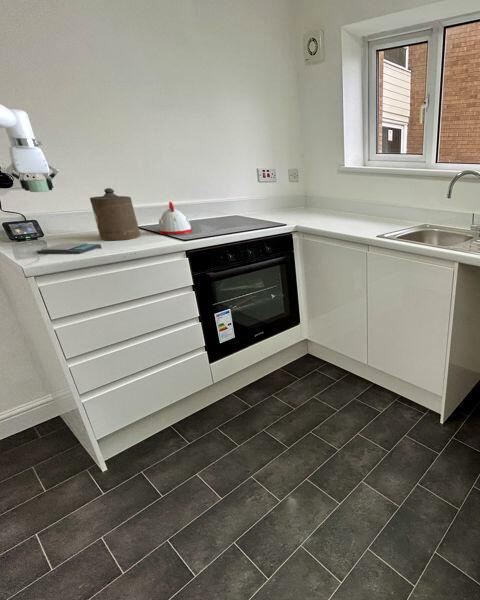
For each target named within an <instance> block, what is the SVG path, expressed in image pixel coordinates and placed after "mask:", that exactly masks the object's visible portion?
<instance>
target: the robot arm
mask: <svg viewBox="0 0 480 600" xmlns="http://www.w3.org/2000/svg"><path fill="white" fill-rule="evenodd" d="M32 127H33V126H32V124H31V121H30V118H29V115H28V113H27V112H26V111H25V110H22V109H16V108H8V107H6V106H5V105H3V104H1V103H0V129H5V131H6V135H7V138H8V140H9V144H10V146H8V152H9V157H10V161H11V163H10V164H9V165H8V166H7V167H6V168H5V169H4V172H5V173H7V174H8V175H10V176H11V177H13V178H15V179H17V180H18V181H19V183H20V186H21V189H23V190H24V191H26V192H29V191H28V187H27V184H26V181H24V180H25V175H26V174H29V175H31V174H33V175H38V174H41V175H43V177H44V178H45V180H47V183H48V186H49V191H53V189H54V184H53V181H52V180H53V179H54V178H55V177H56V176H57V174H58V173H59V172H60V171H59V169H57V168H55V167H54V166H52V165H50V164H48V161H47V159H46V157H45V155H44V153H43V151H42V149H41V148H40V147H39V146H42V145H43V144H42V142H41V141H38V140H37V139H36V137H35V135H34V134H35V133H34V131H33V128H32ZM50 170H51V171H52V172H51V171H50ZM13 171H14V172H16V173H17V174H16V173H14V172H13ZM50 172H51V173H50ZM49 173H50V174H49Z"/></svg>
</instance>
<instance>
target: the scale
mask: <svg viewBox="0 0 480 600" xmlns="http://www.w3.org/2000/svg"><path fill="white" fill-rule="evenodd" d="M96 249H100V250H101V249H102V244H101V243H87V242H60V243H58V244H54V245H50V246H47V247H44V248H41V249H40V250H36V253H37V255H81V254H84V253H87V252H90V251H93V250H96Z"/></svg>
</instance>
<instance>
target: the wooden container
mask: <svg viewBox="0 0 480 600" xmlns="http://www.w3.org/2000/svg"><path fill="white" fill-rule="evenodd" d="M103 192H104V195H101V196H92V197H91V196H90V197H89V200H90V205H91V208H92V212H93V215H94V219H95V224H96V226H97V231H98V234H99V237H100V240H103V241H126V240H134V239H137V238H140V237H141V232H140V229H139V223H138V220H137V216H136V212H135V209H134V205H133V201H132V198H131V196H124V195H117V194H115V190H114V189H113V188H111V187H107V188H105V189H104V190H103Z"/></svg>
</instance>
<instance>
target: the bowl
mask: <svg viewBox="0 0 480 600" xmlns="http://www.w3.org/2000/svg"><path fill="white" fill-rule="evenodd" d="M24 181H26V184H27V187H28V191H27V192H29V193H48V192H50V190H49V186H48V183H47V180H46V179H24Z"/></svg>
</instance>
